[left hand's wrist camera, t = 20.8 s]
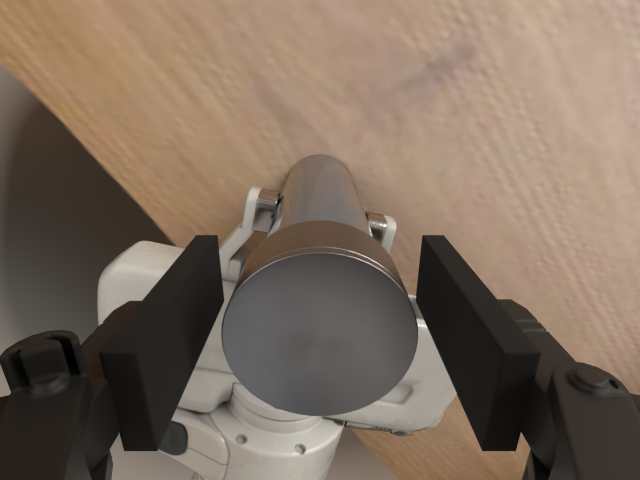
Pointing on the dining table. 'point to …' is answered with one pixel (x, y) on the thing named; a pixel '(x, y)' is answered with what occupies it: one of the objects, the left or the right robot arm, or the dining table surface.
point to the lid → (319, 321)
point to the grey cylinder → (319, 195)
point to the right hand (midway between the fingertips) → (322, 204)
